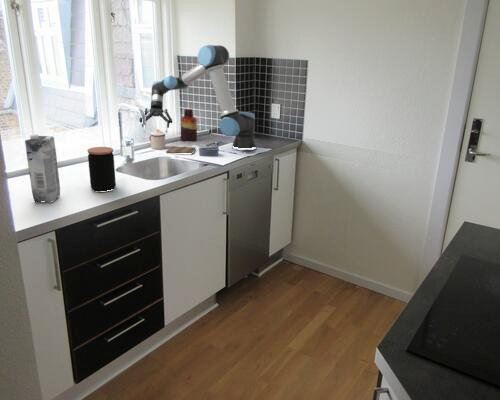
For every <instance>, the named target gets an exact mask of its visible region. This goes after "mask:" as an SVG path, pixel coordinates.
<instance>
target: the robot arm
mask: <svg viewBox="0 0 500 400" xmlns="http://www.w3.org/2000/svg"><path fill="white" fill-rule="evenodd" d="M229 59H230V52H229V50H228V48H226V47H225V46H223V45H219V44H218V45H213V44H207V45H203V46H201V48H200V49H199V50H198V53H197V61H198V64H197V65H195V66H193V67H191V69H189V70H188V71H186V72H185V73H183V74H181V75H180V76H177V77H176V76H173V75H168V76H166V77H165V78H164V79H162V80H161V81H154V82H153V83H152V84H151V85H152V86H151V96H150V109H149V108H145V110H144V112H145V115H146V116H145V117H146V122H147V121H148V120H150V119H151V118H152V117H160V118H162V119H163V120H164V122H165V134H168V128H170V124H172V123H173V118H172V117H171V115H170V114H169V112H168V109H167V108H165V109H163V107H164V106H163V105H164V95H165V94H166V93H168V92H170V91H176V90H186V89H188V88H189V86H190V84H192V83H194V82H196V81H197V80H199V79H201V78H202V77H204V76H205V75H207V74H209V78H210V80H211V84H212V87H213V89H214V94H215V97H216V100H217V102H218V106H219V109H220V112H221V114H220V121H219V122H220V123H219V129H220V132H221V133H222V134H223V135H225V136H226V137H230V138H231V137H234V139H233V143H232V147H233V146H234V147H238V148H252V147H256V148H257V143H256V139H255V127H256V126H255V123H256V121H255V120H256V118H255V117H256V116H255V113H253V112H248V111H239V110H238V109H237V108H236V107H235V103H234V100H233V96H232V95H231V94H232V93H231V91H230V87H229V84H228V81H227V78H226V74H225V72H224V68H225V65H226V64H227V63H228V62H229ZM164 114H165V115H164ZM139 123H141V128H143V133H146V125H143V124H142V118H141V116H140V117H139Z"/></svg>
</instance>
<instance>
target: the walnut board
mask: <svg viewBox="0 0 500 400" xmlns="http://www.w3.org/2000/svg"><path fill="white" fill-rule="evenodd" d="M195 148H196V147H192V146H191V147H190V146H173V145H171V146H170V148H168V150H166V154H167V153H192V152H193V151H194V150H195ZM195 151H196V150H195ZM195 151H194V152H195Z"/></svg>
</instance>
